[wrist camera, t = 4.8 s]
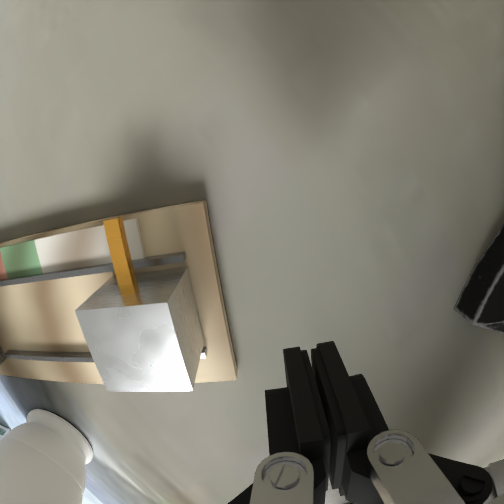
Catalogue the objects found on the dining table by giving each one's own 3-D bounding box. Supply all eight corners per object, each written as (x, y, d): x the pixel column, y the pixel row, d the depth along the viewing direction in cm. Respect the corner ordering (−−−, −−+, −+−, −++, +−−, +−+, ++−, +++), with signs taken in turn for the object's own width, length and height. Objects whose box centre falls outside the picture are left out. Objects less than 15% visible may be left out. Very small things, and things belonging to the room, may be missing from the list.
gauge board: (205, 200, 18) (202, 202, 17) (237, 369, 22) (236, 382, 20) (-44, 255, 19) (-54, 259, 18) (-2, 367, 22) (-10, 374, 21)
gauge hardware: (183, 241, 18) (159, 269, 13) (209, 358, 20) (199, 409, 15) (-41, 278, 18) (-77, 298, 14) (-11, 356, 21) (-40, 384, 16)
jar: (7, 397, 24) (-59, 483, 9) (69, 400, 23) (-2, 520, 8) (54, 461, 26) (12, 546, 12) (119, 469, 26) (84, 577, 11)
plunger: (175, 201, 17) (148, 216, 12) (204, 340, 19) (192, 390, 15) (98, 216, 17) (53, 235, 12) (133, 345, 20) (107, 391, 15)
